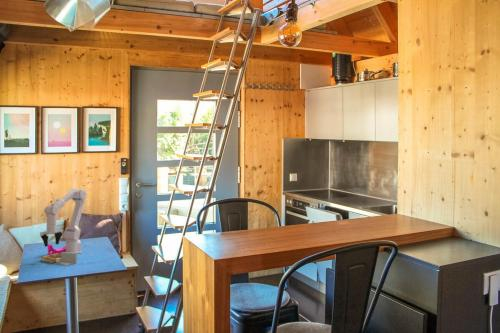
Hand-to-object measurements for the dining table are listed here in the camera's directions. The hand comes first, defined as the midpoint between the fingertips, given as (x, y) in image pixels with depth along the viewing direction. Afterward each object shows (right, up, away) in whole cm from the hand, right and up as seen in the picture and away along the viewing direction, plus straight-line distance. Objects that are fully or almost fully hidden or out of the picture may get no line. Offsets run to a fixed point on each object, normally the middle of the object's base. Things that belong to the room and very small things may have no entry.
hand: (51, 245), depth 284 cm
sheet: (+14, -10, -6) cm, 18 cm away
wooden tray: (+3, -10, +1) cm, 10 cm away
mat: (+13, -10, -6) cm, 18 cm away
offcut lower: (+5, -9, +5) cm, 12 cm away
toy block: (-3, -10, +20) cm, 22 cm away
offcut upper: (+6, -8, +4) cm, 10 cm away
